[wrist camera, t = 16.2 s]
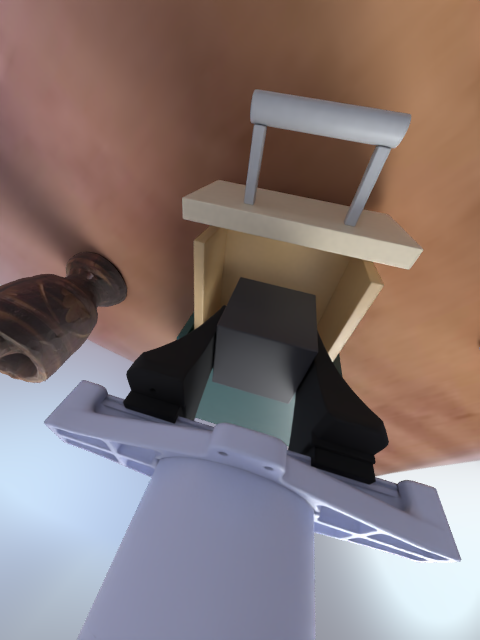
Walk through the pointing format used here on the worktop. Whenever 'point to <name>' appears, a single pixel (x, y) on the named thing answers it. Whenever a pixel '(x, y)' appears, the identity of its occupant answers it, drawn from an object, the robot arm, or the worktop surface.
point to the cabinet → (245, 405)
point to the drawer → (301, 222)
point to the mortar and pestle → (54, 315)
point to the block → (266, 340)
